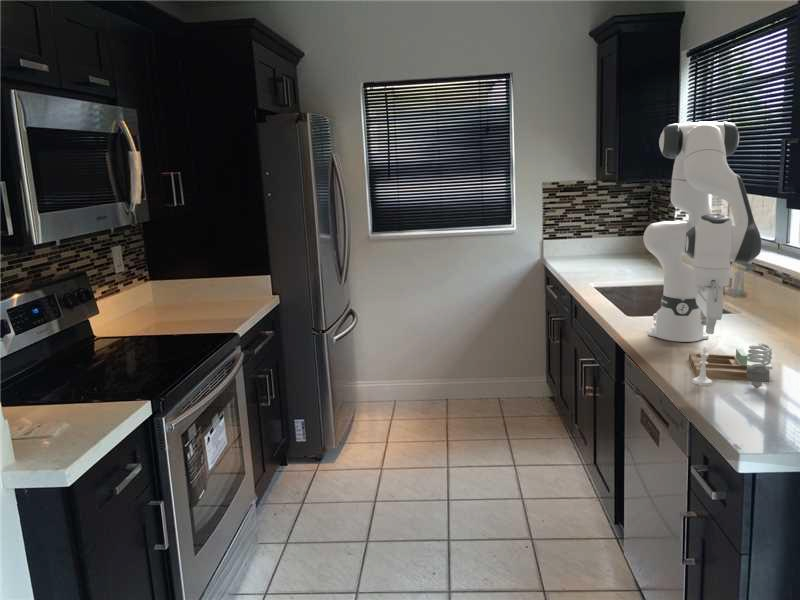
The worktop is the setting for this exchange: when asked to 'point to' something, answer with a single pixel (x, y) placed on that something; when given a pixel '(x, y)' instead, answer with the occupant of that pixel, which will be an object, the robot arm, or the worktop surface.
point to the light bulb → (759, 371)
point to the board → (720, 367)
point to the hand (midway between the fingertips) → (706, 329)
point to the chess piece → (703, 371)
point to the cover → (742, 359)
